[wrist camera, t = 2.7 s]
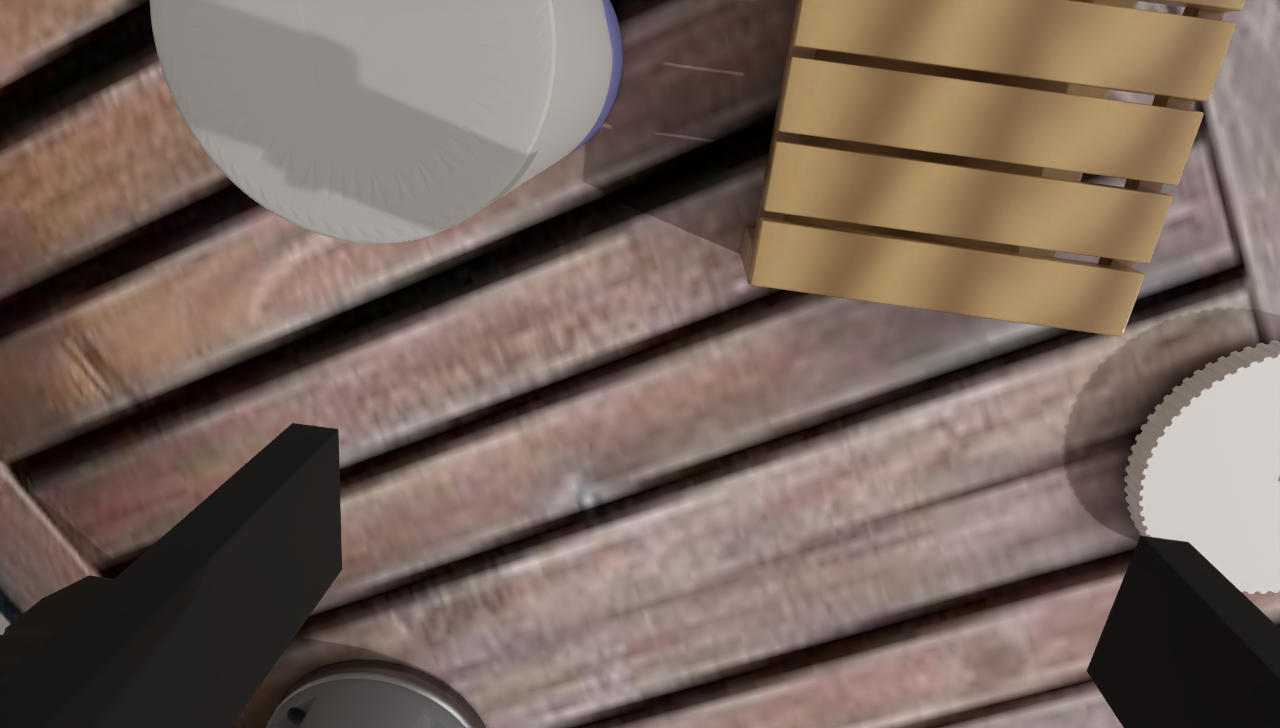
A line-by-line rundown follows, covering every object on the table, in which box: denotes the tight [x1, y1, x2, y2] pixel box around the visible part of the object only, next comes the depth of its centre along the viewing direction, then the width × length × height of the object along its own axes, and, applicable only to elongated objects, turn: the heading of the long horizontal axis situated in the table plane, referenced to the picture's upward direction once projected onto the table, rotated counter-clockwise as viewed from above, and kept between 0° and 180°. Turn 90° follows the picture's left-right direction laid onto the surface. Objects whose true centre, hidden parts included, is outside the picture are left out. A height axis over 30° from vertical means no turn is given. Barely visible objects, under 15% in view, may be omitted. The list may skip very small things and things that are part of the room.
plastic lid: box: [1124, 340, 1280, 594], centre depth 41 cm, size 14×14×2 cm
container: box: [150, 0, 624, 244], centre depth 28 cm, size 10×10×20 cm
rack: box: [740, 0, 1245, 336], centre depth 34 cm, size 16×16×7 cm
